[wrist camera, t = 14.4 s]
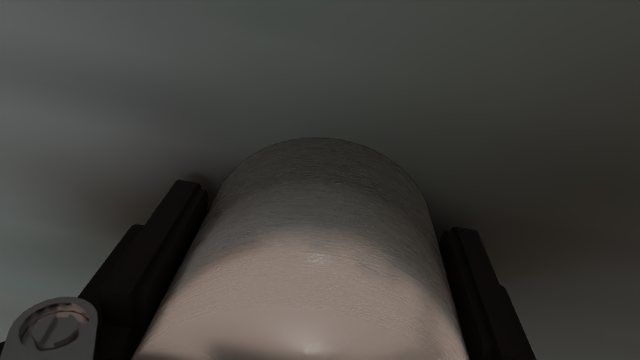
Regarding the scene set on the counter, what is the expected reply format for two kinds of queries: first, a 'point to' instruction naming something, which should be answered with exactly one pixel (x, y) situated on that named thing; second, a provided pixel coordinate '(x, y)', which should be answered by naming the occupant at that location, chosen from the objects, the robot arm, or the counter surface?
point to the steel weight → (310, 266)
